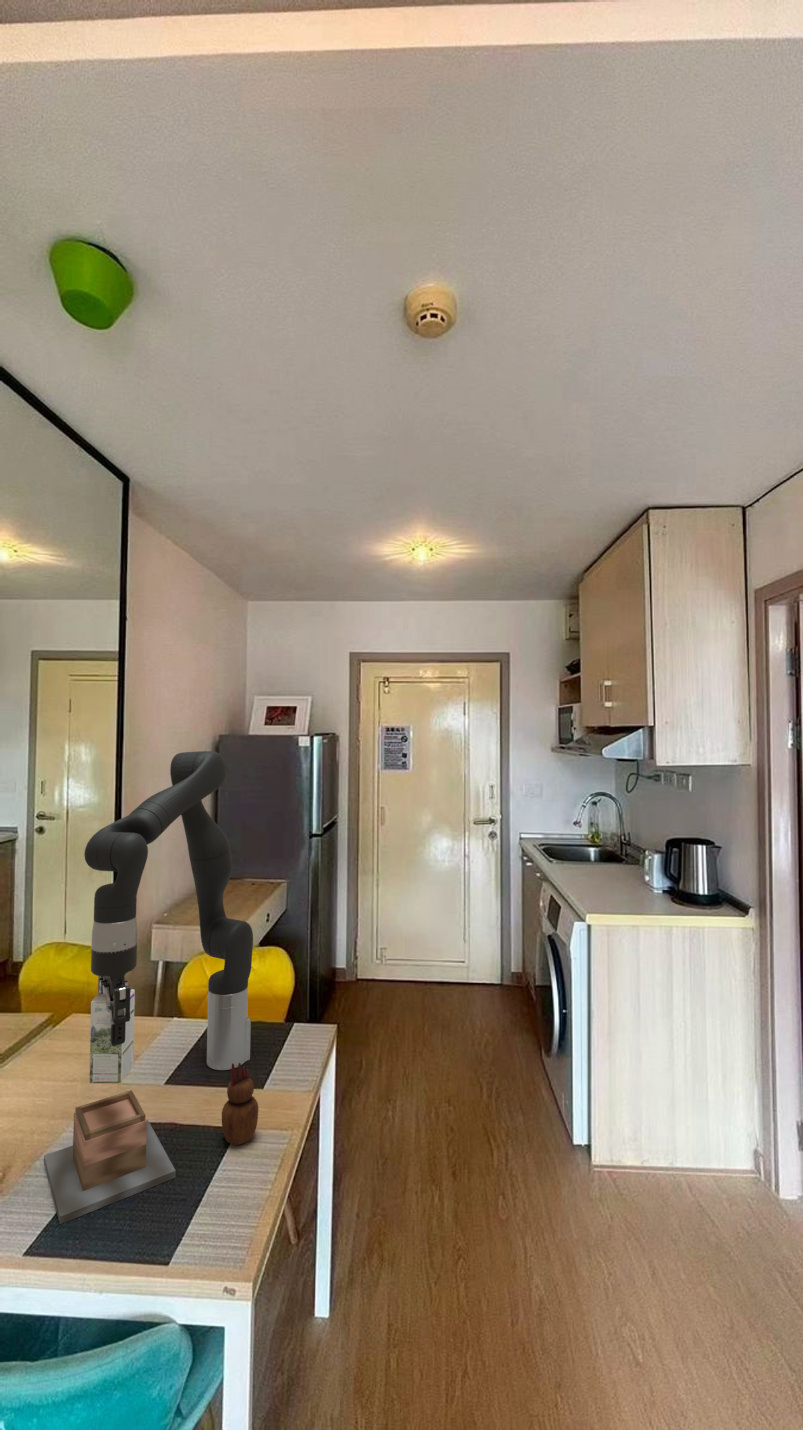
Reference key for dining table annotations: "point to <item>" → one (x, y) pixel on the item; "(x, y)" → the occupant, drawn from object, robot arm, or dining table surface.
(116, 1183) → the tower base
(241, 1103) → the wooden figurine
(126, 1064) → the syrup box
